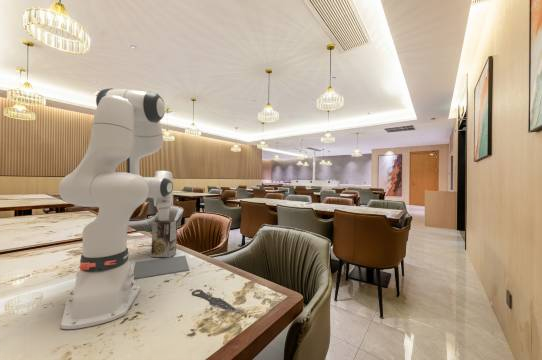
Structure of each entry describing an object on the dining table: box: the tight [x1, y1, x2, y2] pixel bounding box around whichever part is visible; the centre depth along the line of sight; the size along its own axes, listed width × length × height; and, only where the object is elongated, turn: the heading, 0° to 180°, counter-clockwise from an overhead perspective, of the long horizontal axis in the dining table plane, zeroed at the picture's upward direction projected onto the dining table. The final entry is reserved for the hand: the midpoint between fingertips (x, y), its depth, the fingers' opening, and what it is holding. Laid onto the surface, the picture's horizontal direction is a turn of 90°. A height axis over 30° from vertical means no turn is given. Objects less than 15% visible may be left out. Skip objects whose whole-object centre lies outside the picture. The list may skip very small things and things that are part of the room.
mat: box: [133, 255, 190, 280], centre depth 94 cm, size 17×20×1 cm
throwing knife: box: [191, 289, 240, 314], centre depth 70 cm, size 4×20×1 cm, turn 57°
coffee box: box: [150, 219, 178, 258], centre depth 107 cm, size 9×6×16 cm
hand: (163, 229), depth 116 cm, fingers closed
